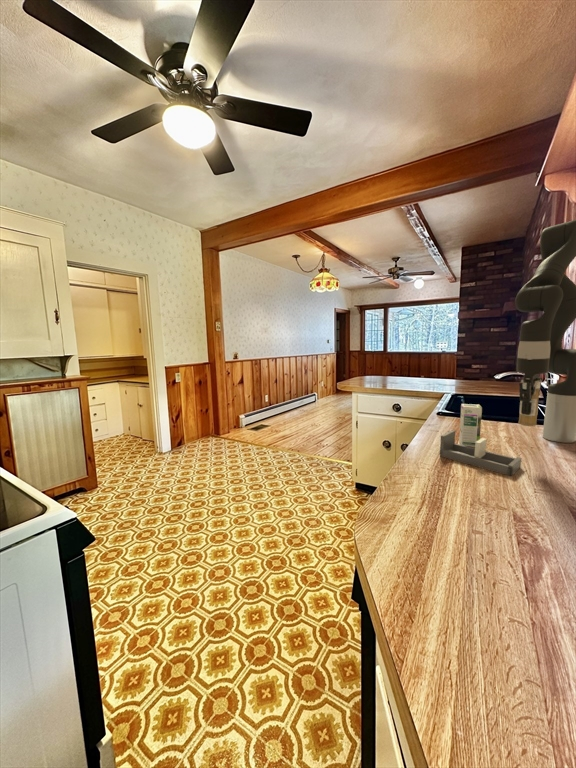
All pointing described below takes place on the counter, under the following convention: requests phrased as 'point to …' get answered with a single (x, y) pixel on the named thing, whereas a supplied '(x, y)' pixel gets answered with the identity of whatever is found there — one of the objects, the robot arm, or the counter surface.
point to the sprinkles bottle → (532, 418)
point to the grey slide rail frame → (467, 456)
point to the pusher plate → (480, 448)
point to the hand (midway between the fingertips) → (528, 412)
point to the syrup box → (470, 424)
